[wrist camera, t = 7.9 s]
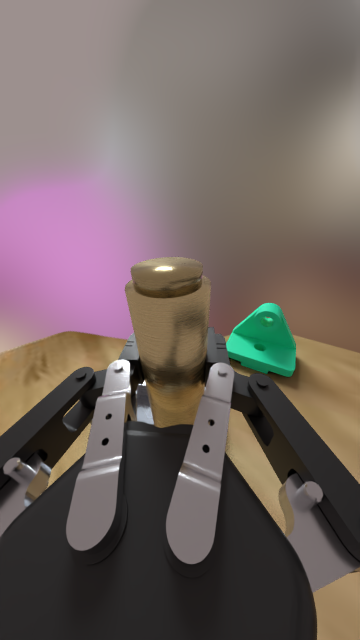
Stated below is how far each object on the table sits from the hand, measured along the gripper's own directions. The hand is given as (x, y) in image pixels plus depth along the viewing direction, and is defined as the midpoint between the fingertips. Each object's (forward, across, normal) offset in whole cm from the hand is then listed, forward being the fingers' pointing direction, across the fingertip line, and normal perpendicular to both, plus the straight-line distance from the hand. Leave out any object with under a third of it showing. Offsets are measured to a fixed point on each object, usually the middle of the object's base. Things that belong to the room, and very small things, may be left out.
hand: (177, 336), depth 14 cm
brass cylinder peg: (-3, 0, +7) cm, 7 cm away
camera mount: (+16, -14, +18) cm, 28 cm away
